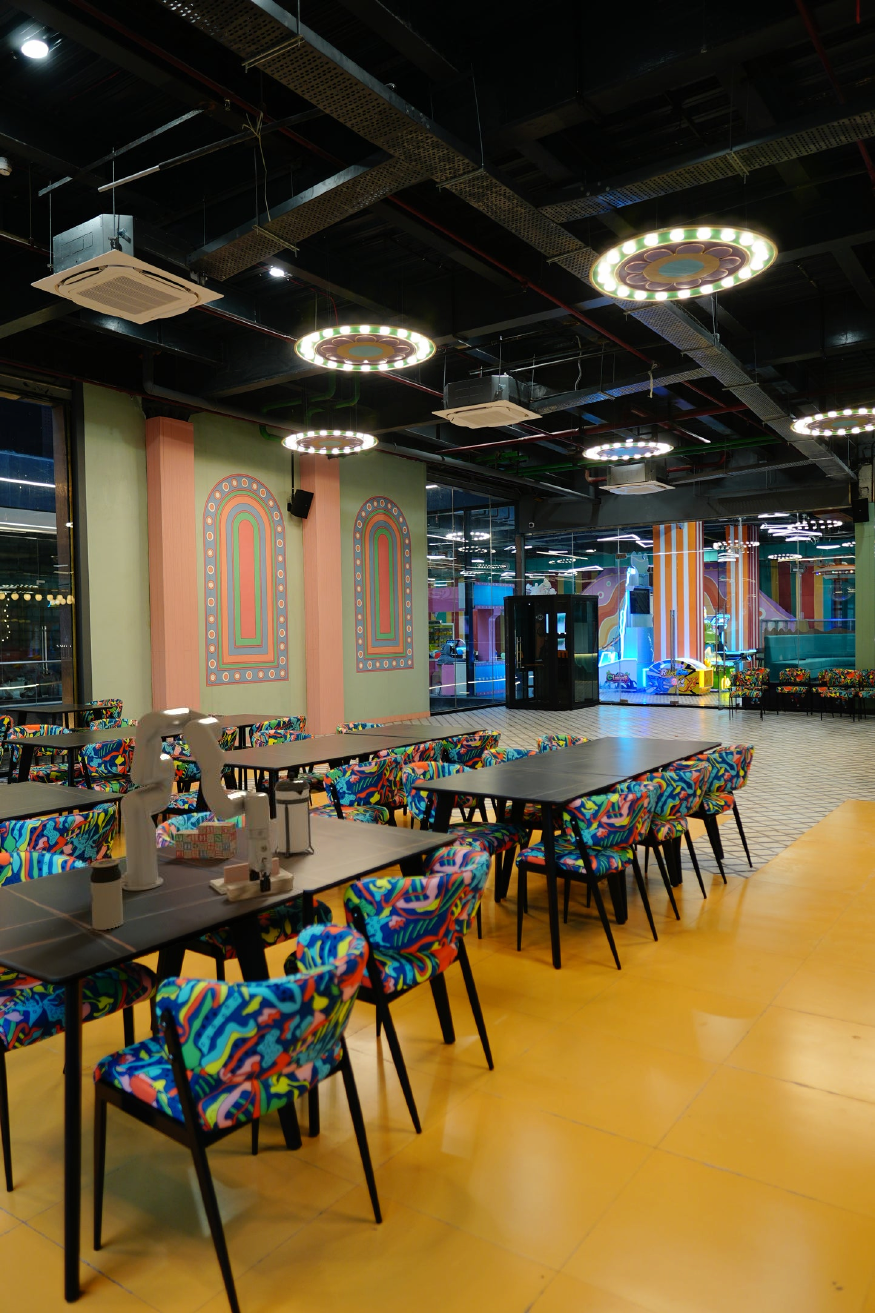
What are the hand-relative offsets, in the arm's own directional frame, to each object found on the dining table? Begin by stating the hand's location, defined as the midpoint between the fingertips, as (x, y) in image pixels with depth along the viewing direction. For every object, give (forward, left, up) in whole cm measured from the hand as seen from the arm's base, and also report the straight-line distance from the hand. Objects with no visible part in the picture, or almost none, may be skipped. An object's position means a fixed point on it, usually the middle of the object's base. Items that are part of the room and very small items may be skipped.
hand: (260, 888), depth 258 cm
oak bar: (0, 0, -2) cm, 2 cm away
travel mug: (-45, -2, -2) cm, 45 cm away
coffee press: (+27, +41, -2) cm, 49 cm away
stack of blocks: (0, +57, -2) cm, 57 cm away
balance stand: (+2, +13, -2) cm, 13 cm away
